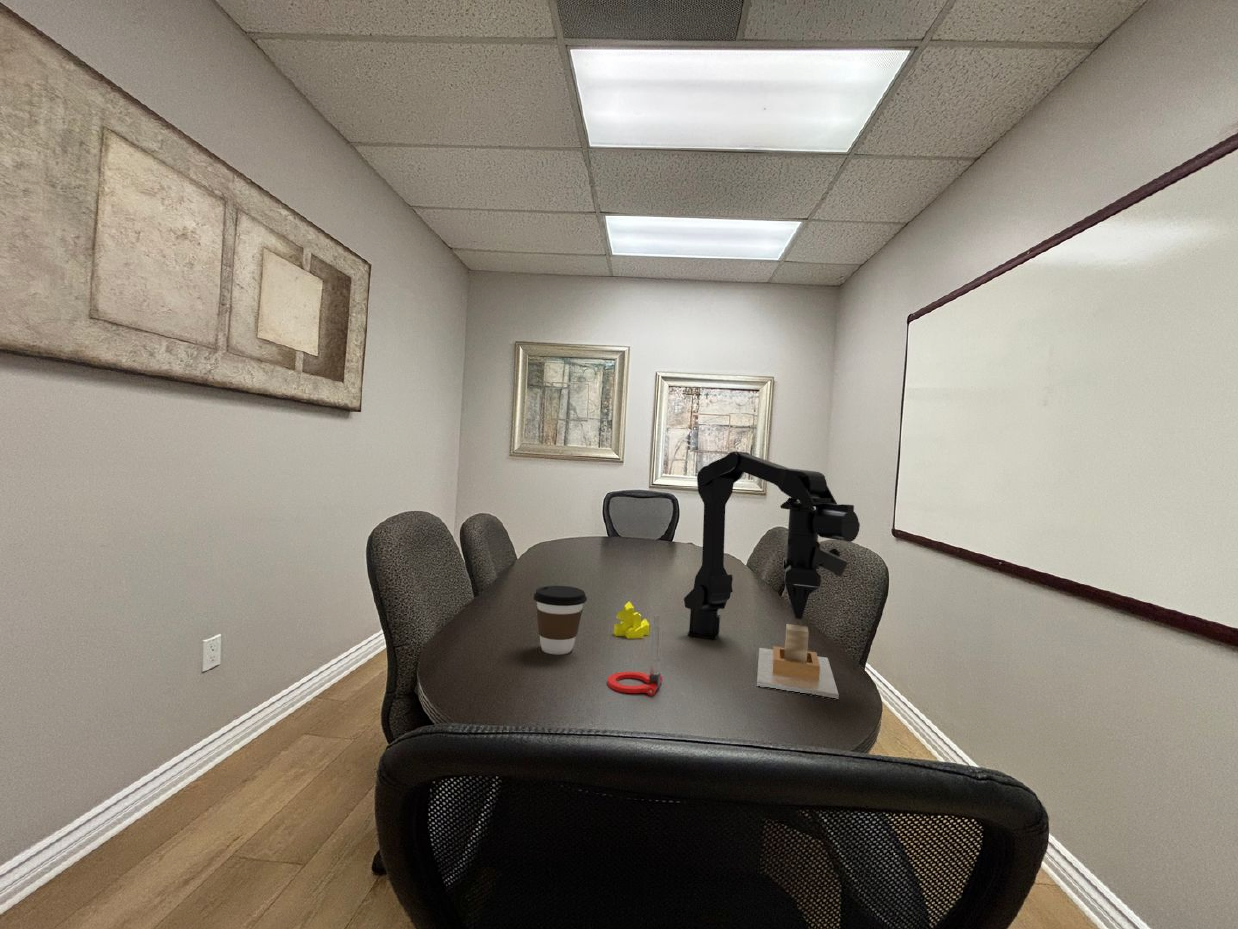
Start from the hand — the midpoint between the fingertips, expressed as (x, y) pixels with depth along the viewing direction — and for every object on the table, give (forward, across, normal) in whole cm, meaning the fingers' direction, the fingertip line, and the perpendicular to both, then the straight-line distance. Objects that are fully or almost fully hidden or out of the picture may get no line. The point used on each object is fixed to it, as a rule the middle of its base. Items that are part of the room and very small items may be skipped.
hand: (797, 612), depth 110 cm
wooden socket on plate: (+12, 0, 0) cm, 12 cm away
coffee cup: (+12, -8, +47) cm, 49 cm away
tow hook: (+12, -19, +28) cm, 36 cm away
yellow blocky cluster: (+12, +9, +35) cm, 38 cm away
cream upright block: (+11, 0, 0) cm, 11 cm away
